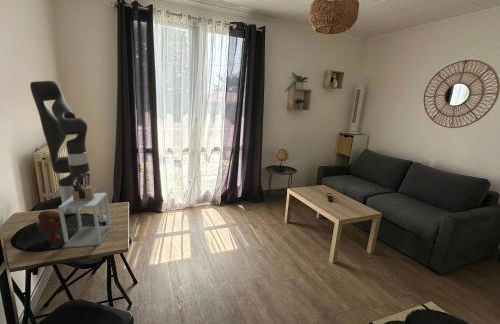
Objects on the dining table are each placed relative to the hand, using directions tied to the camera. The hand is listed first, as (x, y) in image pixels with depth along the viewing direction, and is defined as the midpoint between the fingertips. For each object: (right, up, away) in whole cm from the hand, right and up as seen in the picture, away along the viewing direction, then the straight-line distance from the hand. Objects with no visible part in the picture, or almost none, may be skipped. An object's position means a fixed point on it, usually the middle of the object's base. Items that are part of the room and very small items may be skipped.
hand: (83, 197), depth 120 cm
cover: (-1, -19, +5) cm, 19 cm away
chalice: (-4, -16, +22) cm, 27 cm away
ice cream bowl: (-16, -21, +3) cm, 27 cm away
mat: (-1, -20, +6) cm, 21 cm away
